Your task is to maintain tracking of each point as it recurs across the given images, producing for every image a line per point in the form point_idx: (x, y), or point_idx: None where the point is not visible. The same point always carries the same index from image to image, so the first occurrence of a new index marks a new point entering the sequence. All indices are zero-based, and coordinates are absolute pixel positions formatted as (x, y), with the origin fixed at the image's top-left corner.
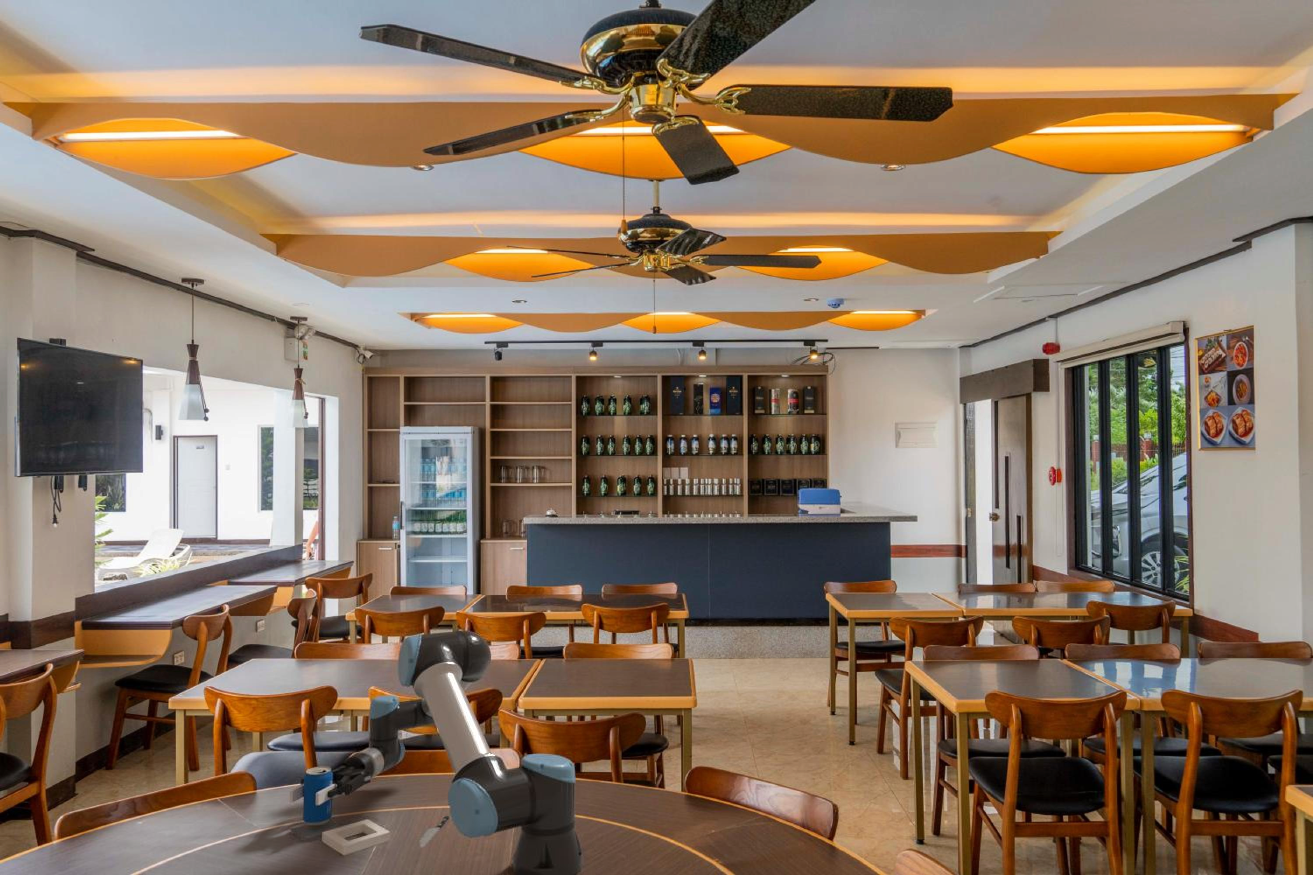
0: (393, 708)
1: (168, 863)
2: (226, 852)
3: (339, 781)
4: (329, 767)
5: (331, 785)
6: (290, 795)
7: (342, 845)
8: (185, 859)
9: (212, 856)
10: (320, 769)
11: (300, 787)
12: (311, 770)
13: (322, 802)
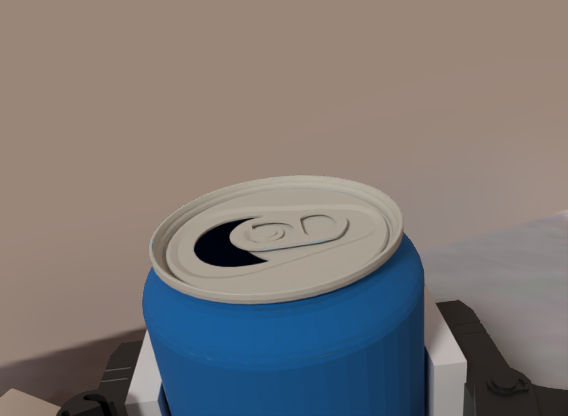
0: None
1: (556, 222)
2: (493, 296)
3: (80, 399)
4: (211, 293)
5: (154, 371)
6: None
7: (20, 392)
8: (548, 242)
9: (499, 271)
10: (299, 261)
11: None
12: (372, 228)
13: None
